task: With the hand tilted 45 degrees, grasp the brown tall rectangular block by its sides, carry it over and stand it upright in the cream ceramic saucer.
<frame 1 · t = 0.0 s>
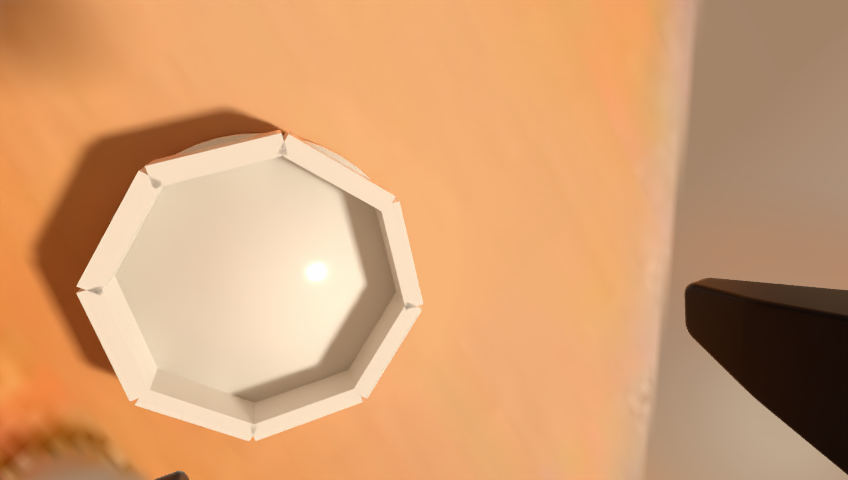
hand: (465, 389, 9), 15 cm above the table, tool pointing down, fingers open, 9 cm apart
saucer: (267, 279, 22), on the table
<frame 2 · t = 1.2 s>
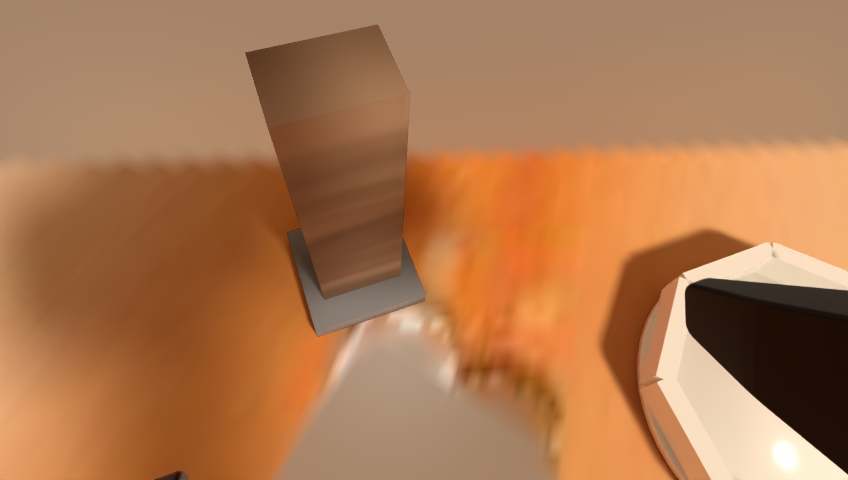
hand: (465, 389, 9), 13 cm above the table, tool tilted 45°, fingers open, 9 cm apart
saucer: (776, 395, 22), on the table
brown tall rectangular block: (355, 269, 24), on the table
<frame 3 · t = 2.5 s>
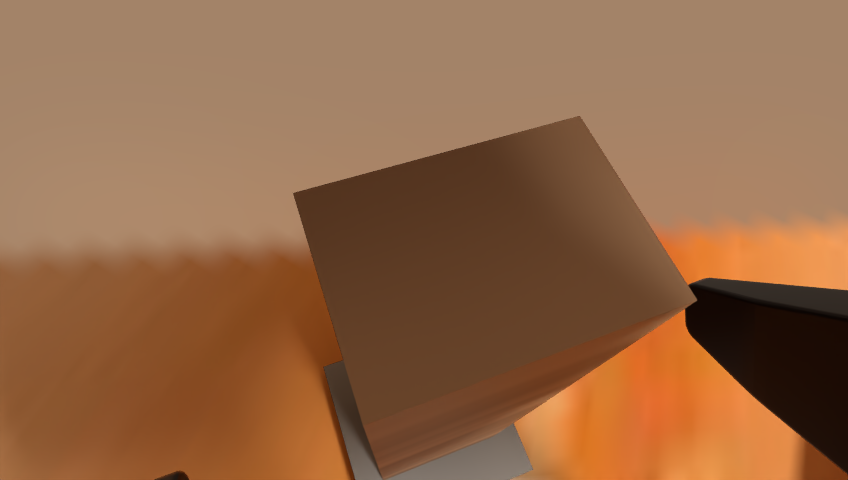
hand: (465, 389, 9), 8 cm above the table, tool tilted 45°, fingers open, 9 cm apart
brown tall rectangular block: (423, 420, 16), on the table
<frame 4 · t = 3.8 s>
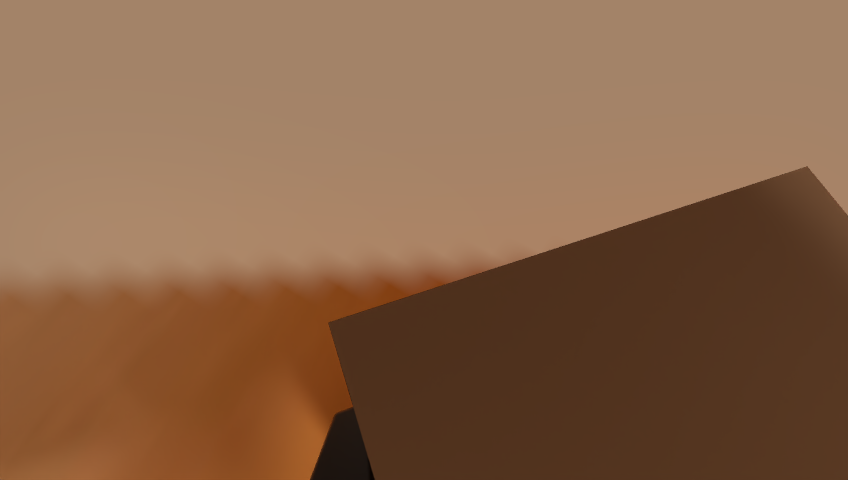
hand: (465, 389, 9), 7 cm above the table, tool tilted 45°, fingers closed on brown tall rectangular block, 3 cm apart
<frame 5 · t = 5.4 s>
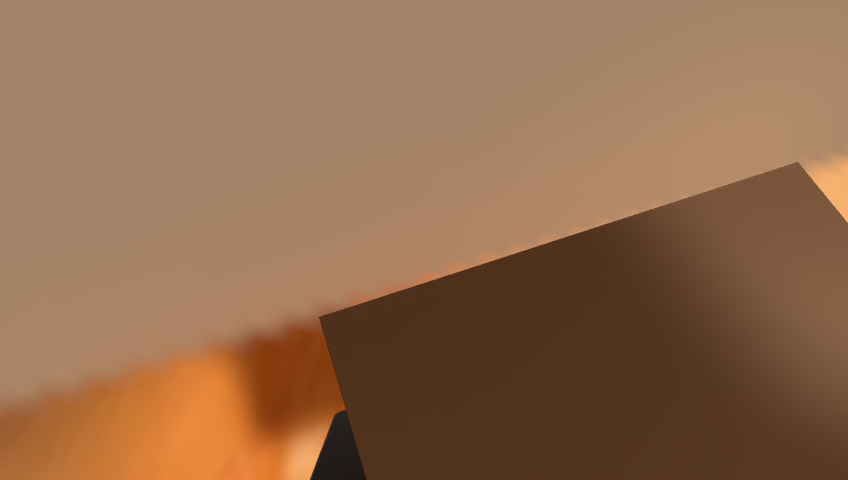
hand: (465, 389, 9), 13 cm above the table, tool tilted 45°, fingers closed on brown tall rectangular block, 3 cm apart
when the fingers open (8 cm above the table, at t = 7.3 s): brown tall rectangular block drops 1 cm, resting on saucer.
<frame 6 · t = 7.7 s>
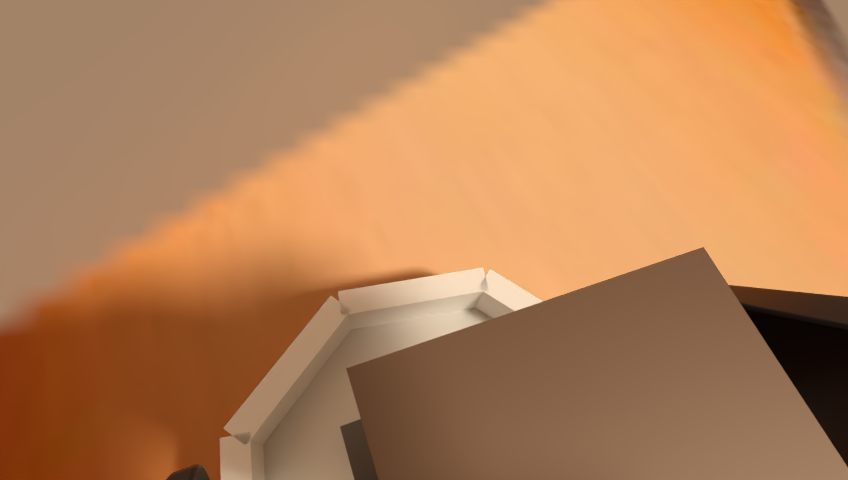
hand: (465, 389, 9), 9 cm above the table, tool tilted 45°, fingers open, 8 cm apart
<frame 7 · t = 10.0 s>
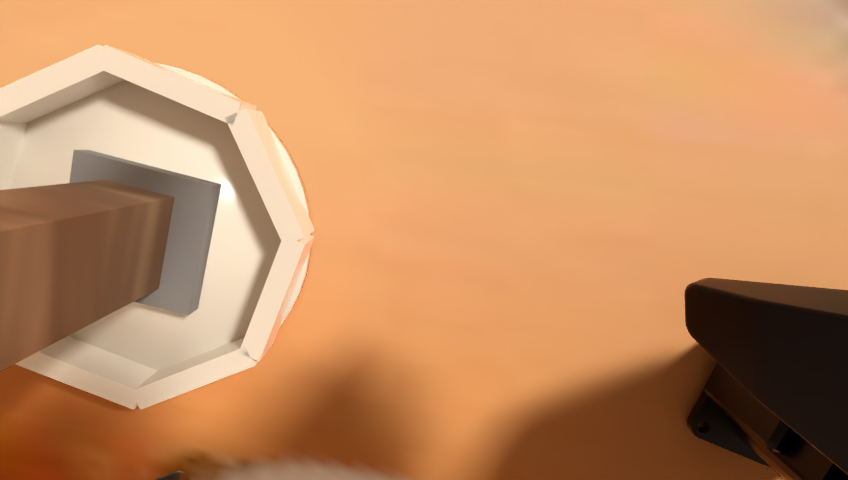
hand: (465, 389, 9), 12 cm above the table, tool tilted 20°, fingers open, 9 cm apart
saucer: (153, 229, 20), on the table
brown tall rectangular block: (144, 231, 19), point 1 cm above the table, touching saucer
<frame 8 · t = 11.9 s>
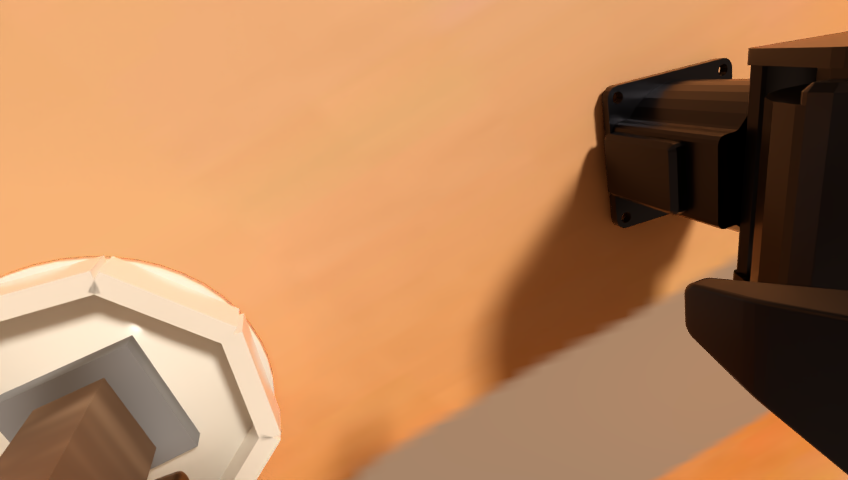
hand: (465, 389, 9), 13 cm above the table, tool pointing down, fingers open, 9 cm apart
saucer: (108, 407, 20), on the table
brown tall rectangular block: (103, 416, 19), point 1 cm above the table, touching saucer
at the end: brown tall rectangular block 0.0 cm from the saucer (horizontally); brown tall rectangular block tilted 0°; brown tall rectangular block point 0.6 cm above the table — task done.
